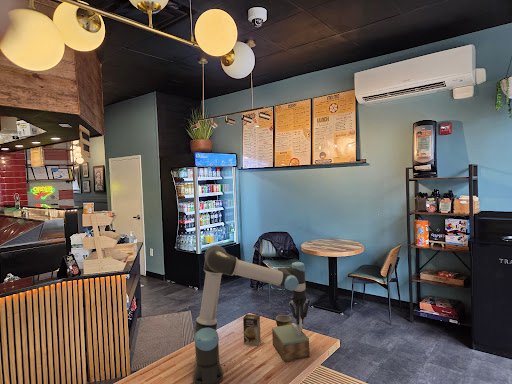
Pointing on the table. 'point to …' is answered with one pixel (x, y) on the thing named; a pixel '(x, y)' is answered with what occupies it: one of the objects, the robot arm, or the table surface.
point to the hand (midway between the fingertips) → (300, 329)
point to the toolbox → (291, 349)
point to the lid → (290, 334)
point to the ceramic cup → (283, 320)
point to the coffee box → (251, 329)
